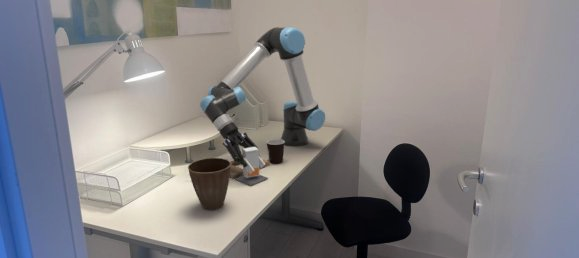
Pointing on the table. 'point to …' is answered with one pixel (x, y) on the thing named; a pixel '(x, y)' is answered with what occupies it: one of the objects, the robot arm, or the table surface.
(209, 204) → the plant pot
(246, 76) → the robot arm
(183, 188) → the table surface
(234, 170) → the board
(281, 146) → the coffee mug
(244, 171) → the skincare box
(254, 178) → the coaster
